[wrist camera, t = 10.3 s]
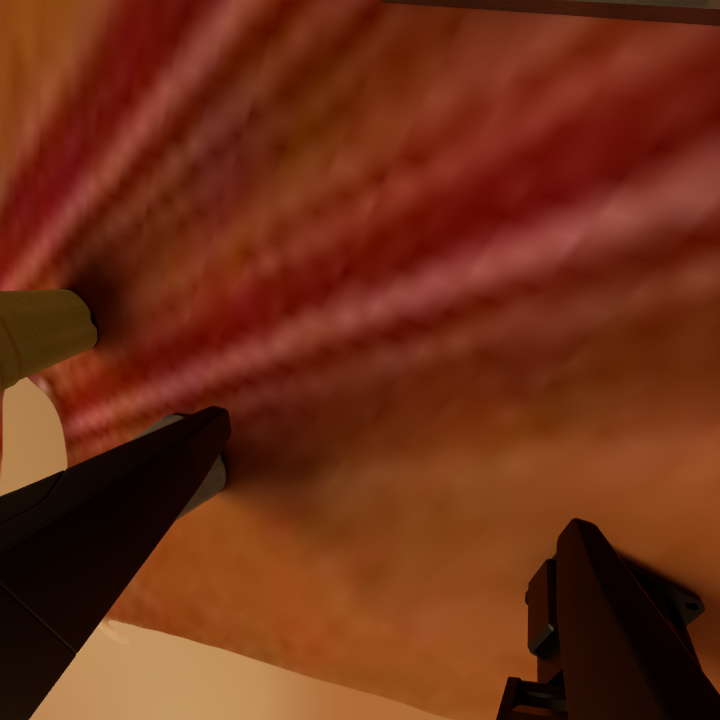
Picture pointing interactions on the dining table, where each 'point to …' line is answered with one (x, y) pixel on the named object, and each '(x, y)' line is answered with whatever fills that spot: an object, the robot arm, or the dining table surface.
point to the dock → (598, 8)
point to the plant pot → (41, 331)
